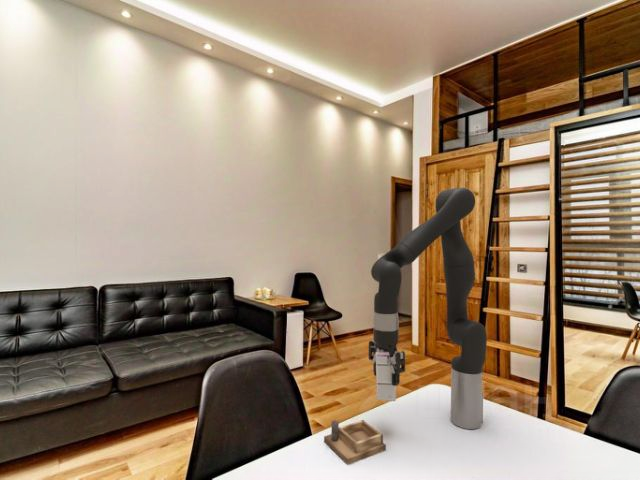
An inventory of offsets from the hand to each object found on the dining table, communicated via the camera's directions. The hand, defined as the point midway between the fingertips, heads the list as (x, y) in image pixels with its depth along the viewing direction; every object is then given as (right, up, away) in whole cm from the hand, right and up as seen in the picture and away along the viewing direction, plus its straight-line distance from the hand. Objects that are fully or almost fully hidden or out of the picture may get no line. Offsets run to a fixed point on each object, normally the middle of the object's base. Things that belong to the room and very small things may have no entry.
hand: (386, 379), depth 110 cm
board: (-10, -16, -7) cm, 20 cm away
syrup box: (0, -5, 0) cm, 5 cm away
